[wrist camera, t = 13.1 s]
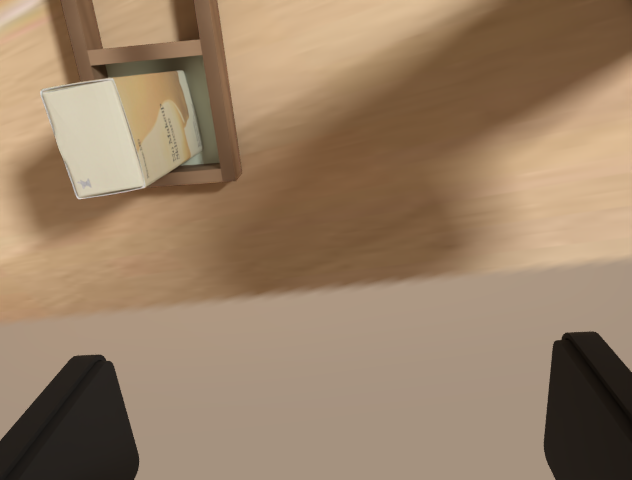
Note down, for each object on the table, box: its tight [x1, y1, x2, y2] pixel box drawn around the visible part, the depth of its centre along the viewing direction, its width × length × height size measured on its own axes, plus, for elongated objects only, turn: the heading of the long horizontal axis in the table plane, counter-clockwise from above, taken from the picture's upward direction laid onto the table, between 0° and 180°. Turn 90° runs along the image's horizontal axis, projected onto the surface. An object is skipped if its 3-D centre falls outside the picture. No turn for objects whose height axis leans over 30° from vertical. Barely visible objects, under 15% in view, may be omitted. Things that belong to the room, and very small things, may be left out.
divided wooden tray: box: [61, 0, 242, 188], centre depth 36 cm, size 10×19×2 cm, turn 5°
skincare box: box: [40, 70, 203, 199], centre depth 33 cm, size 6×4×12 cm
